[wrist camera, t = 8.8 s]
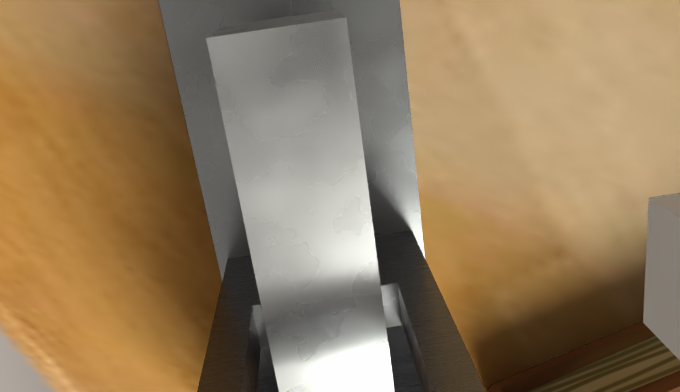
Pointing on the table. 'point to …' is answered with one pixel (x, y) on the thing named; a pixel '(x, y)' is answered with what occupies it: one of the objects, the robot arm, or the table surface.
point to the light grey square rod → (305, 198)
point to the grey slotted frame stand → (383, 184)
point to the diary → (604, 367)
